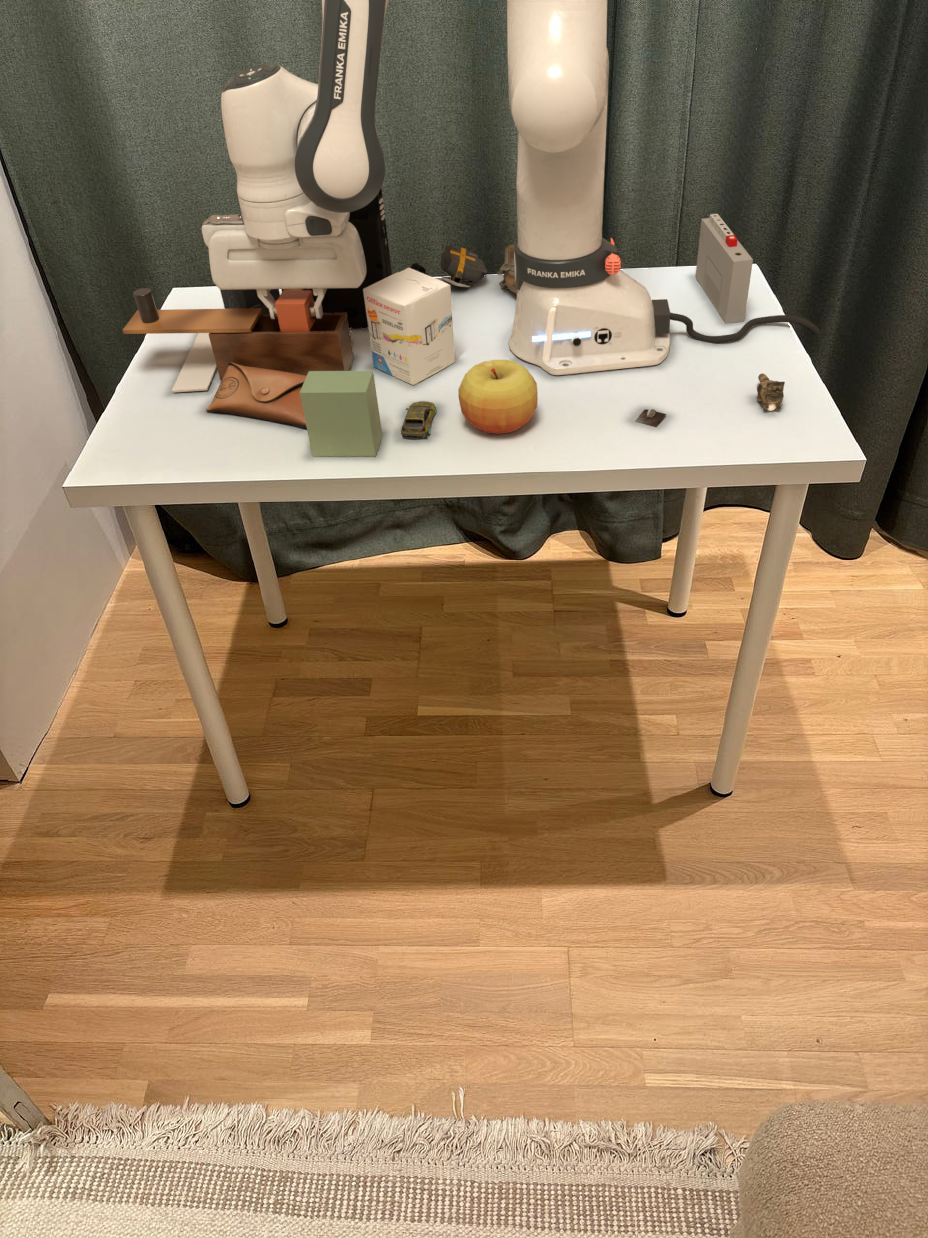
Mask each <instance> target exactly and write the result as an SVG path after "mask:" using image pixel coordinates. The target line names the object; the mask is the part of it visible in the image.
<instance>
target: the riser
mask: <svg viewBox="0 0 928 1238" xmlns="http://www.w3.org/2000/svg"><path fill="white" fill-rule="evenodd" d="M300 397H301V401H302V406H303V411H304V416H305V421H306V426H307V428H306V430H307V435H308V440H309V445H310V449H311V456H312V457H377V454H378V450H379V447H380V443H381V439H382V437H383V430H382V429H383V428H382V422H381V417H380V415H381V414H380V407H379V402H378V395H377V389H376V379H375V374H374V370H349V371H309V372H308V374H307V377H306V379H305V381H304V383H303V386H302V388H301V390H300Z"/></svg>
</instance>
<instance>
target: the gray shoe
mask: <svg viewBox="0 0 928 1238" xmlns="http://www.w3.org/2000/svg"><path fill="white" fill-rule="evenodd" d="M473 248H474V246H470V250H469V249H467V248H464V247H460V246H456V245H446V246H445V248H444V252H443V253H442V254H441V258H440V265H439V269H440V270H441V271H442V272H443V273H445V274H446V275H447V276H448V277H450V279H449V278H447V277H446V276H443V275H441V276H440V277H441V278H442V279H443V280H445V281H446V282H447V283H448V284H450V285H454V286H456V287H460V288H471V287H472V286H471V285H470V284H474V283H476V282H479V281H480V280H482V279H483V278H484V277H485V276H487V275H488V274H489V271H488V270H487V268H486V266H485V263H484V260H483V259H480V258H479V254H478V253H475V252H474V251H473V250H474V249H473ZM464 281H465V282H467V284H464V283H462V282H464Z"/></svg>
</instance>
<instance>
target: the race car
mask: <svg viewBox="0 0 928 1238" xmlns="http://www.w3.org/2000/svg"><path fill="white" fill-rule="evenodd" d="M405 411H407V413H406V415H405V417H404V419H403V423H402V425H401V427H400V434H401V435H402V436H401V437H402V438H406V439H410V440H420V439H427V438H428V436H430V435H431V424H432V421H433V417H435V415H437V412H438V411H437V406H436V405H435V403H433V402H431V401H425V400H423V401H421V400H420V401H415V402H412V403H411V404H410V405H409V406H408V407H406V408H405Z"/></svg>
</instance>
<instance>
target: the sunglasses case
mask: <svg viewBox="0 0 928 1238" xmlns="http://www.w3.org/2000/svg"><path fill="white" fill-rule="evenodd" d="M228 365H229V366H228V368H227V370H226V372H225V374H224V377H223V379H222V381H221V380H220V384H219V385H218V388H217V390H216V392H215V395H214V397H213V398H212V401H211V403H210V405H208V406H207V408H205V411H206V412H212V413H222V414H223V413H224V414H230V415H237V416H240V417H245V418H251V419H252V418H253V419H256V420H263V421H267V422H272V423H276V424H280V425H287V426H292V427H297V428H305V429H307V426H306V421H305V416H304V411H303V406H302V401H301V397H300V390H301V388H302V386H303V383H304V381H305V379H306V377H307V376H306V375H300V374H295V373H289V372H283V371H277V370H269V369H262V368H255V367H248V366H242V365H238V364H235V363H231V362H230V363H228Z"/></svg>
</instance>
